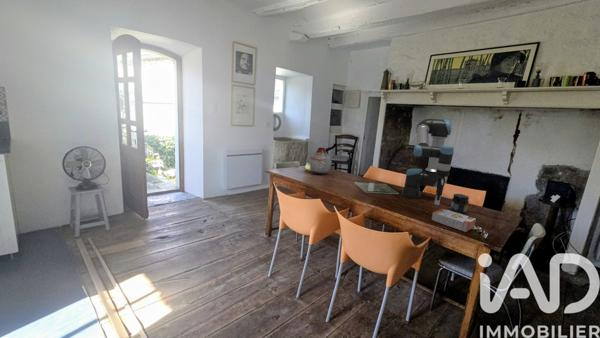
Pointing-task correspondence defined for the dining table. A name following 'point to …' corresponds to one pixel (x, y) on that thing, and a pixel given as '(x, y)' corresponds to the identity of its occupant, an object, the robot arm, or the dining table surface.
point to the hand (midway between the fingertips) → (436, 204)
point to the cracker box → (453, 219)
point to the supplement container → (459, 203)
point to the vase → (320, 162)
